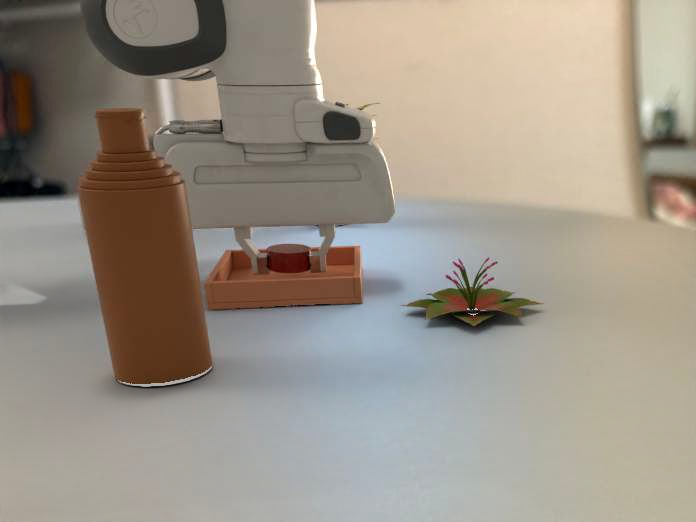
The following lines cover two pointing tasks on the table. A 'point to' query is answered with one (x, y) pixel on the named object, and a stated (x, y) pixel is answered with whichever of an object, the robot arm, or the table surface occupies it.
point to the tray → (285, 282)
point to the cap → (288, 258)
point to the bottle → (143, 255)
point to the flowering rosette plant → (471, 299)
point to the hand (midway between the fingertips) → (291, 272)
